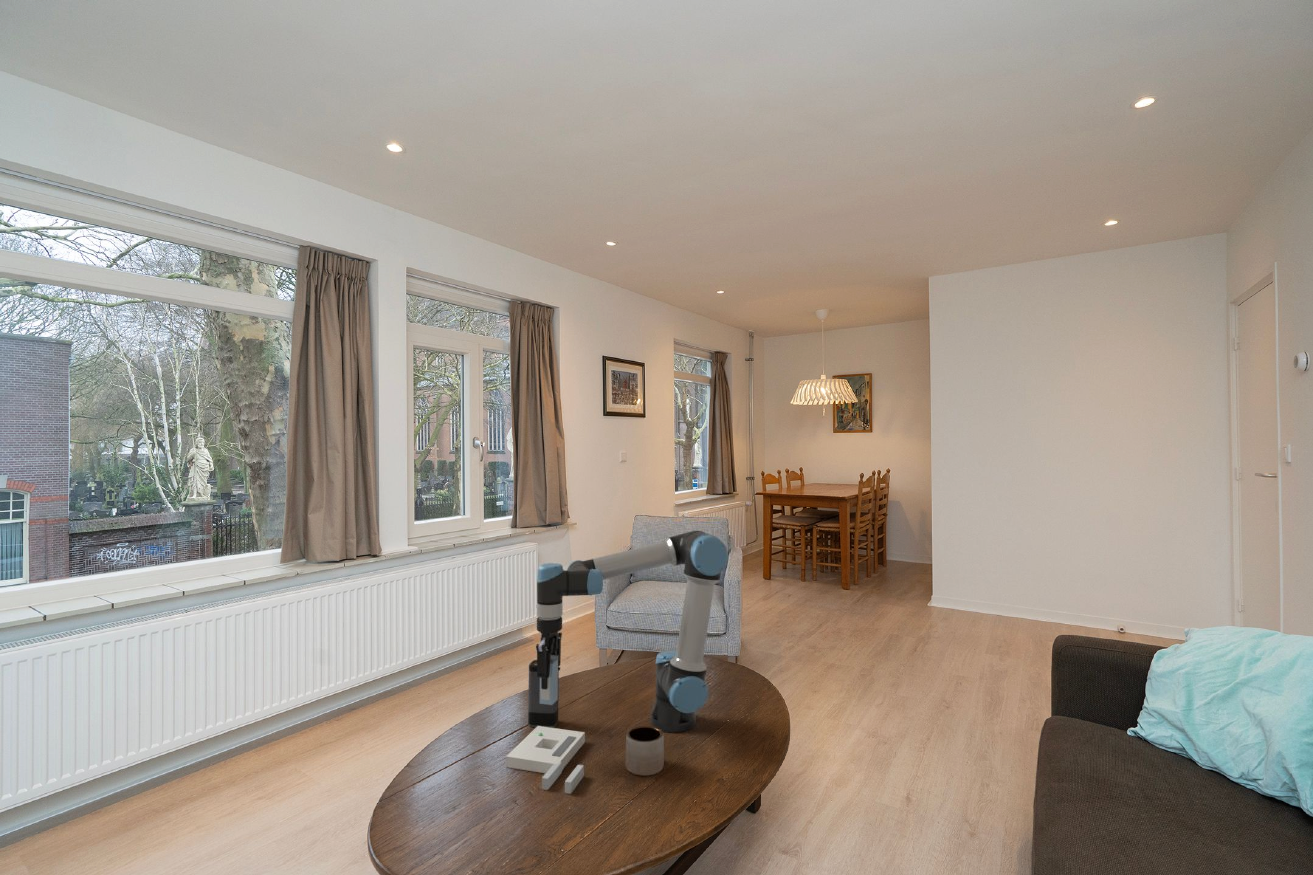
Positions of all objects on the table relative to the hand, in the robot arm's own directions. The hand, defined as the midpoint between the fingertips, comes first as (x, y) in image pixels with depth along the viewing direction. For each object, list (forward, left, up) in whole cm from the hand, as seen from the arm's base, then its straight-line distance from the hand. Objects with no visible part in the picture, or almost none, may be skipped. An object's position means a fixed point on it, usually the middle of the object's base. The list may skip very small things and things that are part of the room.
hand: (548, 695), depth 179 cm
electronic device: (+11, -19, -18) cm, 28 cm away
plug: (0, 0, -2) cm, 2 cm away
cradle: (-10, +12, -18) cm, 24 cm away
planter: (-29, -2, -18) cm, 34 cm away
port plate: (+1, -1, -18) cm, 18 cm away
